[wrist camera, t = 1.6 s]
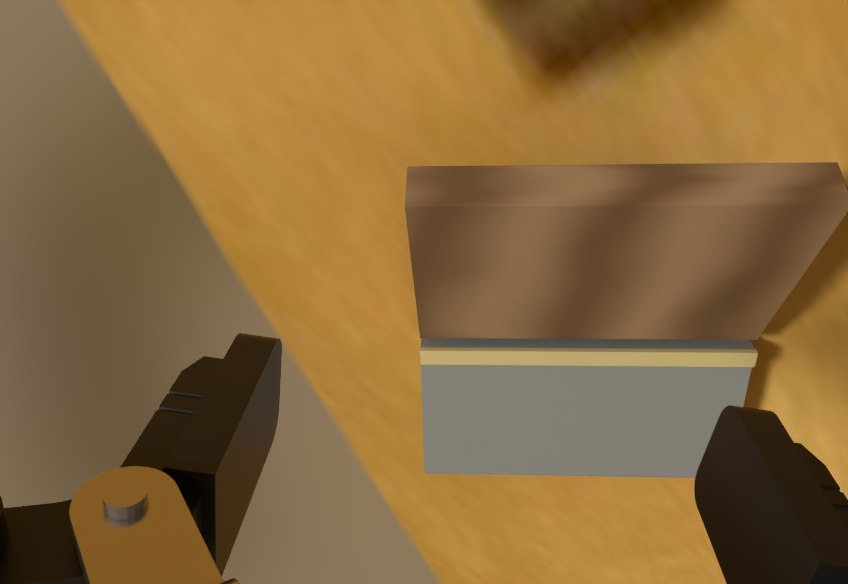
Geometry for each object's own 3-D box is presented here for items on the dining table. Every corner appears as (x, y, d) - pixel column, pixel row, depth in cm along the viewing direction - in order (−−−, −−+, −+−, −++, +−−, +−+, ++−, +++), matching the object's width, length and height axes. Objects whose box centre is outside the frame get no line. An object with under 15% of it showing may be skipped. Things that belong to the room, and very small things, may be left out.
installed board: (741, 328, 36) (758, 352, 34) (716, 453, 39) (729, 482, 37) (423, 326, 37) (420, 350, 35) (426, 449, 40) (424, 477, 38)
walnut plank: (837, 162, 26) (852, 204, 25) (748, 303, 35) (757, 339, 34) (407, 166, 27) (405, 207, 26) (421, 303, 36) (420, 337, 35)
